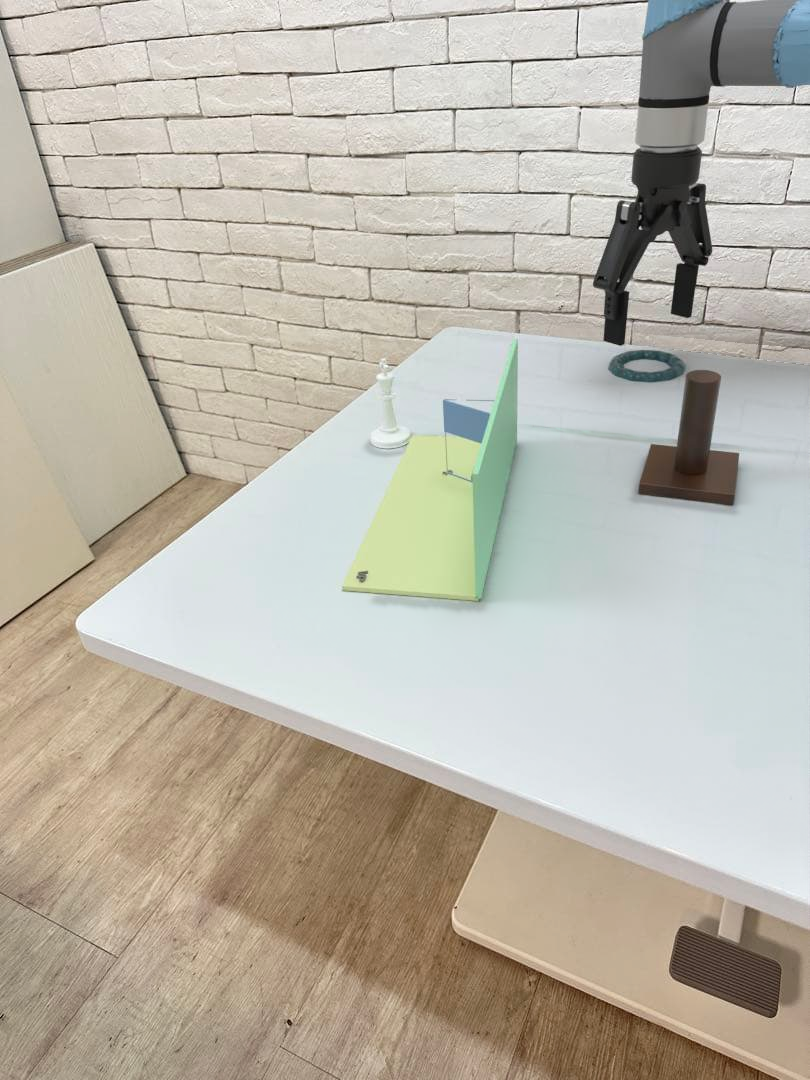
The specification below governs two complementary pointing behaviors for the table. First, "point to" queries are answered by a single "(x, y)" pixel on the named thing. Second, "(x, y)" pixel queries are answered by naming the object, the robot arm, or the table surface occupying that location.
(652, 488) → the stand
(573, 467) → the table surface
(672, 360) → the ring
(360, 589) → the display stand
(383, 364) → the chess piece
